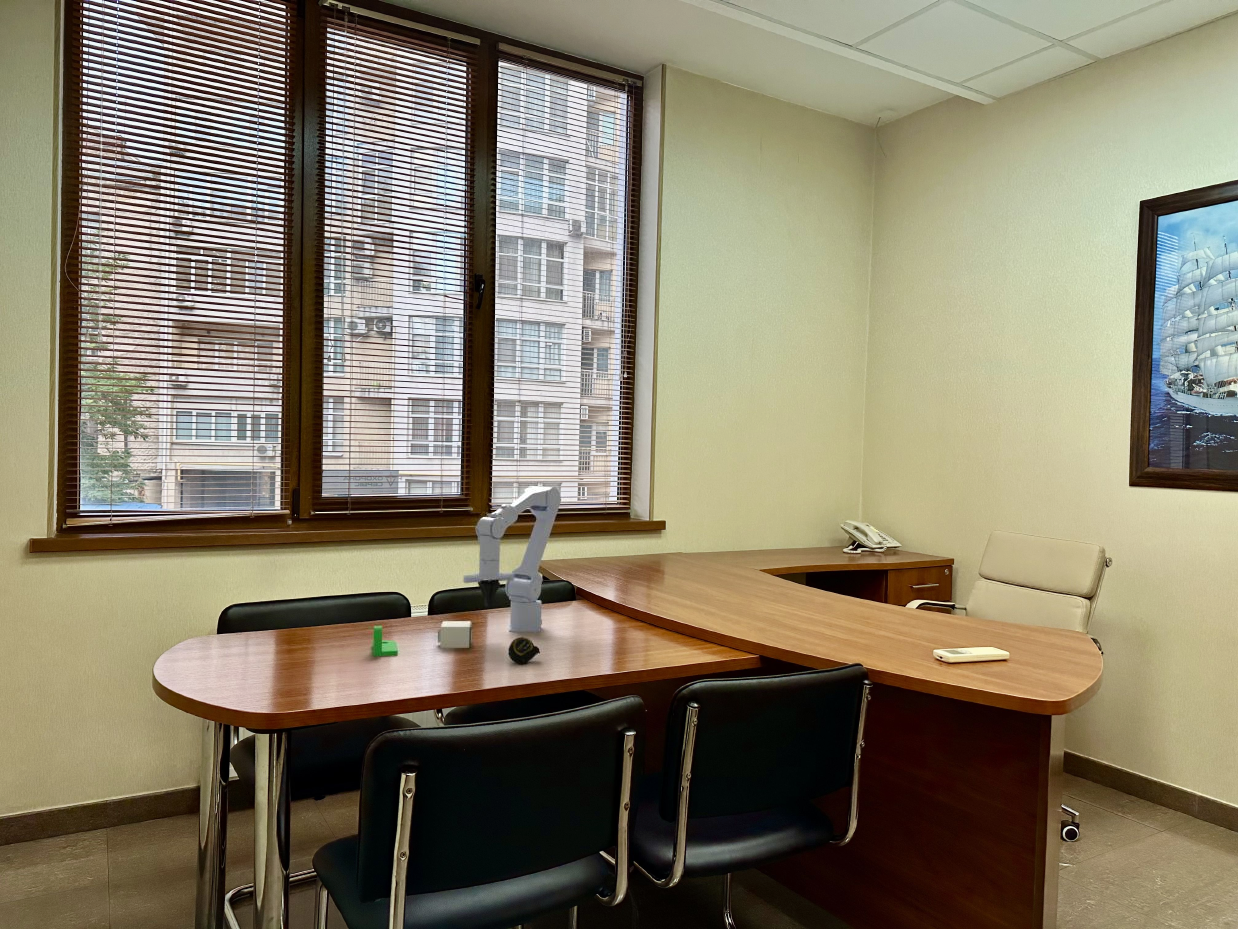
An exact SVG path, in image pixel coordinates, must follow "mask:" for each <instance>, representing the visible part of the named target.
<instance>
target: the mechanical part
mask: <svg viewBox="0 0 1238 929" xmlns="http://www.w3.org/2000/svg"><path fill="white" fill-rule="evenodd" d="M372 636H373V640H372V651H373V652H372V653H373V657H388V656H389V657H390V656H392V655H393V656H398V654H399V650H398V646H397V642H396V641H394V640H386V639H385V640H383V626H382V625H374V626H373V635H372Z"/></svg>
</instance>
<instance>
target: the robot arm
mask: <svg viewBox="0 0 1238 929" xmlns="http://www.w3.org/2000/svg"><path fill="white" fill-rule="evenodd" d="M561 502H562V497H561V493H560V491H559V489H558V488H557V487H554V486H551V487H550V486H535V485H529V486H528V487H527V488H525V489H524V491H523V494H522V495H520V496H519V497H518V498H517V499H516V500H515V501H514V502H512V503H511V504H504V503H503V504H501V505H500V508H498V509H497V510H496V511H494V512H492V513H490V514H489V515H488V516H484V517H481V518H480V519H479V520H478V521H477V524H476V526H475V533H476V535H477V541H478V543H479V560H478V561H479V562H478V563H479V564H478V565H479V568H478V573H477V574H476V573H475V574H468V575H463V580H462V581H463V583H464V584H470V583H477V585H478V587H479V589H480V590H481V594H482V597H483V602H484V607H486V608H493V602H494V600H495V597H496V594H497V593H498V590H499V588H500V586H501V582H504V581H505V582H506V583H505V586H504V589H505V593H506V595H507V597H508V600H510V616H509V617H510V622H509V623H510V624H508V633H509V632H510V633H518V632H519V633H520V632H521V633H522V632H523V633H525V632H526V633H530V632H531V633H536V632H542V625H543V618H542V600H538V598H539V597H540V595H541V594H542V593H541V592H542V583H543V581H544V579H543V577H542V575H541V574H540V573H539V568H540V565H541V562H542V558H543V556H544V553H545V550H546V547H547V544H548V541H549V538H550V535H551V533H552V532H551V531H552V529H553V526H554V523H555V520H556V517H557V514H558V512H559V509H560V506H561ZM527 509H529V511H530V512H531V514H532V515H534V516H535V518H536V521H535V522H534V526H533V528H532V532H531V534H530V537H529V539H528V540H529V541H528V543H527V545H526V549H525V552H524V555H523V558H522V561H521V564H520V565H519V566H518V567H517V568H515V569H514V570H512V572H504V573H503V572H500V559H501V558H500V556H501V555H500V554H501V553H500V552H501V538H502V537H503V536H504V534H505V532H506V530H507V528H508V527H509V526H511V525H512V524H514V523H515V522H516V521H517V520H518V516H519V515H520V514H521V513H523V512H524V511H525V510H527Z"/></svg>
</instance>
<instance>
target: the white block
mask: <svg viewBox="0 0 1238 929" xmlns="http://www.w3.org/2000/svg"><path fill="white" fill-rule="evenodd" d="M440 626H441V627H440V629H441V643H440V649H467V648H468V649H469V648H471V647H472V642H473V641H472V640H471V629H472V630H473V622H471V621H470V620H466V621H465V620H464V621H462V620H457V621H456V620H455V621H454V620H450V621H447V620H446V621H445V620H443V621H442V623H441V625H440Z"/></svg>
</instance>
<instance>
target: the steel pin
mask: <svg viewBox="0 0 1238 929" xmlns="http://www.w3.org/2000/svg"><path fill="white" fill-rule="evenodd" d="M472 632H473V628H472V629H471V640H472V639H473V638H472V637H473V636H472V635H473V634H472ZM437 643H440V644H441V628H440V629H439V628H438V629H437Z"/></svg>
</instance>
